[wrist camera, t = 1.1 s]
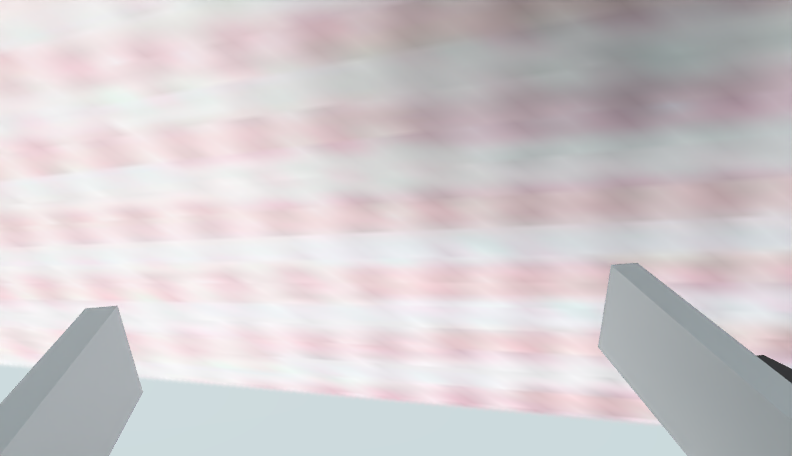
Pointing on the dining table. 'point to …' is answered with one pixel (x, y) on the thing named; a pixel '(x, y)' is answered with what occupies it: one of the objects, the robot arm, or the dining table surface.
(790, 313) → the dining table surface
